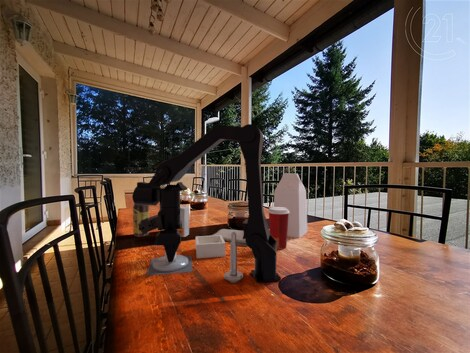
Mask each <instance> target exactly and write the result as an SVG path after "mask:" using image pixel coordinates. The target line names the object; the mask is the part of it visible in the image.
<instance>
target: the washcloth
mask: <svg viewBox="0 0 470 353" xmlns="http://www.w3.org/2000/svg"><path fill="white" fill-rule="evenodd" d="M232 232H234V233H236V241H237V243H236V244H237V246H245V247H248V246H247V245H246V241H245V239H243V236H244V232H243V230H237V229H227V228H221V229H219V230H217V232H215V233H213V234H212V235H211V236H215V235H222V237H223V239H224V241H225V242H228V243H229V244H230V243H231V233H232Z"/></svg>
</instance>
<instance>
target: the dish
mask: <svg viewBox="0 0 470 353" xmlns="http://www.w3.org/2000/svg"><path fill="white" fill-rule="evenodd" d="M195 257H196V259H207V258H221V257H222V258H223V257H226V241H224V239H223V237H222V235H215V236H212V235H201V236H199V235H197V236H195Z"/></svg>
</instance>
